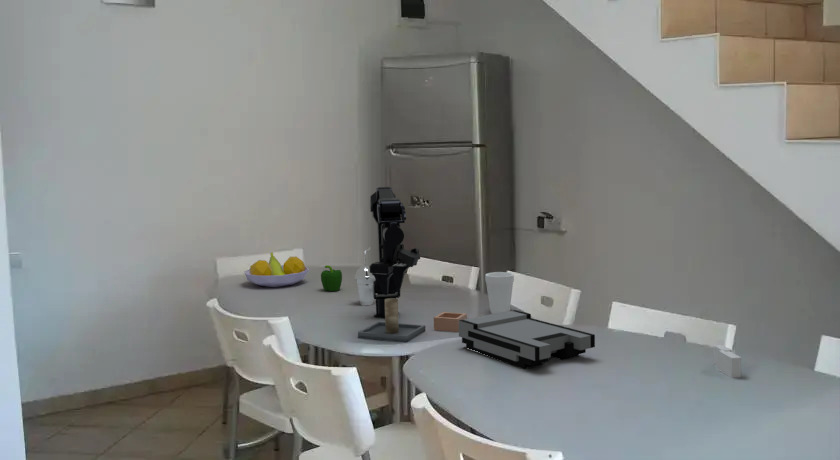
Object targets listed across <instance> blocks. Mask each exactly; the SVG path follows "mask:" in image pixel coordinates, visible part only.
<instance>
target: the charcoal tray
mask: <svg viewBox="0 0 840 460" xmlns="http://www.w3.org/2000/svg"><path fill="white" fill-rule="evenodd" d="M425 332H426V325H425V324H424V325H423V324H411V323H400V322H399V332H398V333H394V334H389V333H386V328H385V322H383V321H377V322H375V323H374V324H371V325H369V326H367V327H365V328H363V329H362V330H359V331H358V332H357V339H361V340H362V339H365V340H374V341H375V340H376V341H377V340H378V341H386V342H400V343H408V342H410V341H411V340H413V339H415V338H417V337H418V336H420V335H421V334H423V333H425Z"/></svg>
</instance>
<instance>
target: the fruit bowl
mask: <svg viewBox="0 0 840 460" xmlns="http://www.w3.org/2000/svg"><path fill="white" fill-rule="evenodd" d="M309 271H310V269H309V268H308V267H307V266H306V265H305V263H304V260H302V259H301V258H299V257H297V256H289V257H288V258H287V259H286V261H284V263H283V264H282V265H281V263H280V262H279V260H278V259H277V258H276V257H275V256H274V252H270V257H269V261H267V260H264V259H263V260H261V259H259V260H257V261H255V262H254V263H253V264H252V265H250V267H249V269H247V270H244V271H243V272H244V276H245V278H246V281H247V282H250V283H253V284H256V285H258V286H260V287H261V286H262V287H267V288H279V287H286V286H294V285H295V284H296V283H299V282H300V281H302V280H304V279H305V278H306V275H307V274H308V272H309Z"/></svg>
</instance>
